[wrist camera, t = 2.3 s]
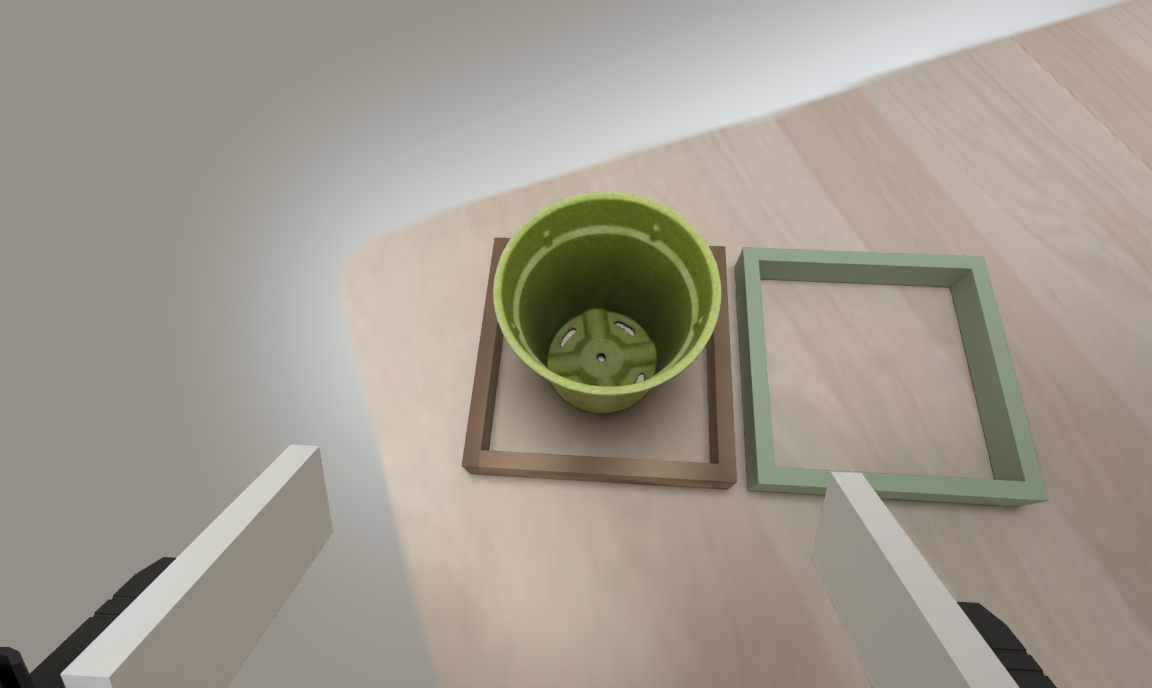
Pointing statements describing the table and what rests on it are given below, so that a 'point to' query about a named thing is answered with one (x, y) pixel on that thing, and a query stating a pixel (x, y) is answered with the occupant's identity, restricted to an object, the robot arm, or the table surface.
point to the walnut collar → (603, 468)
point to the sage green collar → (984, 354)
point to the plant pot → (607, 296)
